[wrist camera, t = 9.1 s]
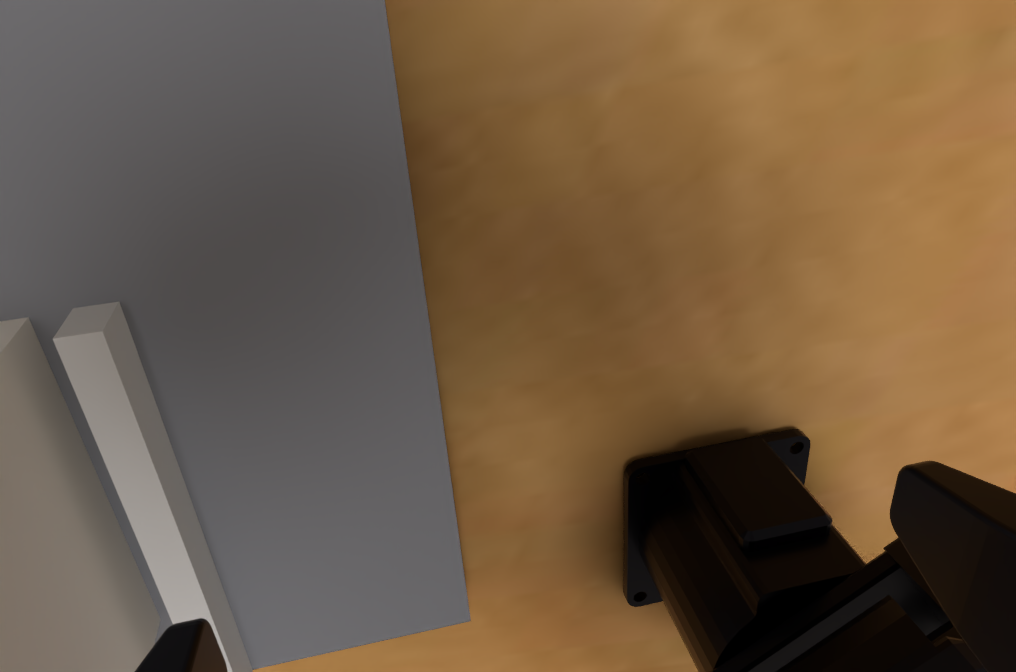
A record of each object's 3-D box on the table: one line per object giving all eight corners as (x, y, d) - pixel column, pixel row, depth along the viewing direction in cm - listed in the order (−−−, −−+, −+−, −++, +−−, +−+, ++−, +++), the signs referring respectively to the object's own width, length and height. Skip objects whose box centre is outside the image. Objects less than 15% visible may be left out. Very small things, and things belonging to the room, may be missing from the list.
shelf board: (463, 586, 26) (481, 672, 23) (-38, 694, 24) (-91, 806, 21) (337, -306, 14) (340, -369, 11) (-680, -270, 12) (-1022, -339, 9)
